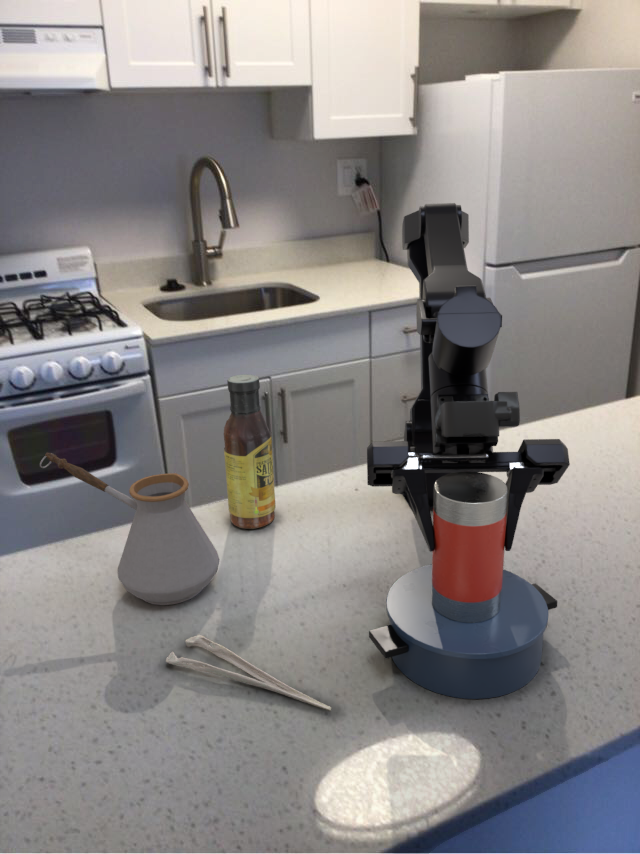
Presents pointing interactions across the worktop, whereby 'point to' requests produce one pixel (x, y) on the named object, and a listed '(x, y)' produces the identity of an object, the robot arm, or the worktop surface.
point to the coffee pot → (159, 538)
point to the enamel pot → (465, 638)
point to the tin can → (468, 545)
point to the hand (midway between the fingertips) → (469, 550)
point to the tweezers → (231, 657)
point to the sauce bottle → (248, 456)
